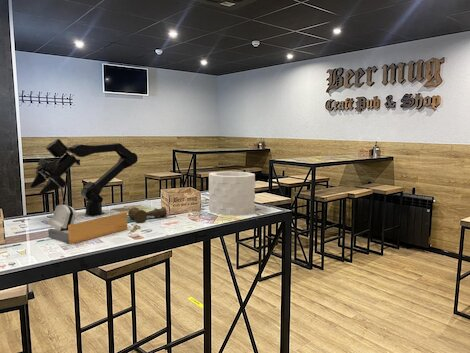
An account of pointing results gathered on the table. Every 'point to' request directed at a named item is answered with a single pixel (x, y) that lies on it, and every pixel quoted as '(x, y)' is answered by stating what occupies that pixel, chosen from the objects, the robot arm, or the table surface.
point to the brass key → (135, 228)
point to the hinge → (62, 217)
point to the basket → (231, 193)
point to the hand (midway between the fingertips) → (35, 190)
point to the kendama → (145, 214)
